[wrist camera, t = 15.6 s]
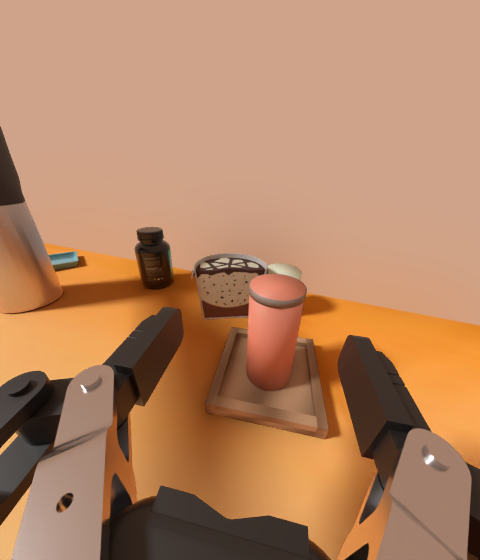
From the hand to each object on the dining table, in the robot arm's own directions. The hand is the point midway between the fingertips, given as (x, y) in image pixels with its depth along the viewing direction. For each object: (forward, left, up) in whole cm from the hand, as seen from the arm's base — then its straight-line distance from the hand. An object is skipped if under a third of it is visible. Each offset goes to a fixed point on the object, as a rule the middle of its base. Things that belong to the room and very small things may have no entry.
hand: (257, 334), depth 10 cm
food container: (-7, +23, -16) cm, 29 cm away
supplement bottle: (-25, +29, -16) cm, 42 cm away
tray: (+1, +10, -15) cm, 19 cm away
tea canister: (+1, +10, -15) cm, 18 cm away
